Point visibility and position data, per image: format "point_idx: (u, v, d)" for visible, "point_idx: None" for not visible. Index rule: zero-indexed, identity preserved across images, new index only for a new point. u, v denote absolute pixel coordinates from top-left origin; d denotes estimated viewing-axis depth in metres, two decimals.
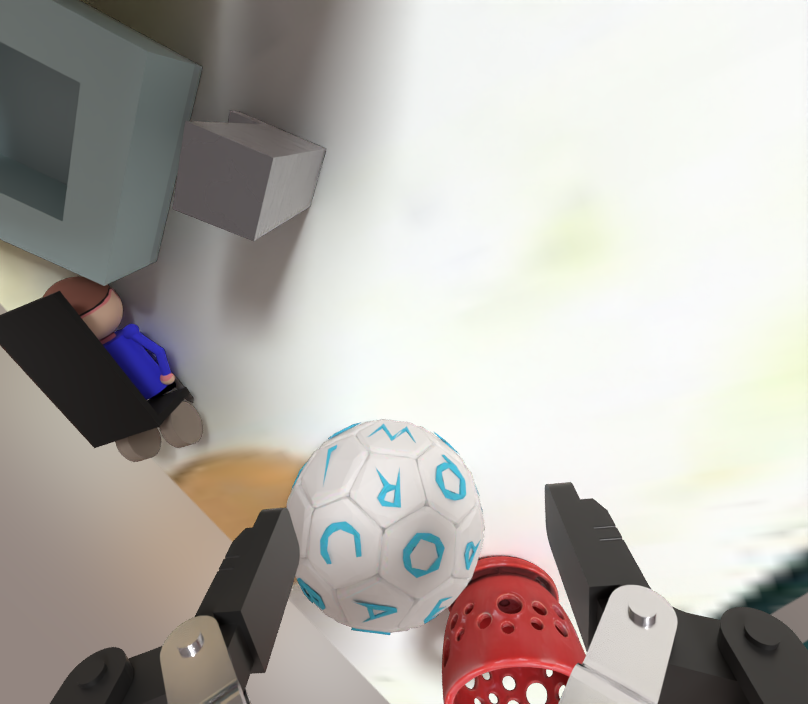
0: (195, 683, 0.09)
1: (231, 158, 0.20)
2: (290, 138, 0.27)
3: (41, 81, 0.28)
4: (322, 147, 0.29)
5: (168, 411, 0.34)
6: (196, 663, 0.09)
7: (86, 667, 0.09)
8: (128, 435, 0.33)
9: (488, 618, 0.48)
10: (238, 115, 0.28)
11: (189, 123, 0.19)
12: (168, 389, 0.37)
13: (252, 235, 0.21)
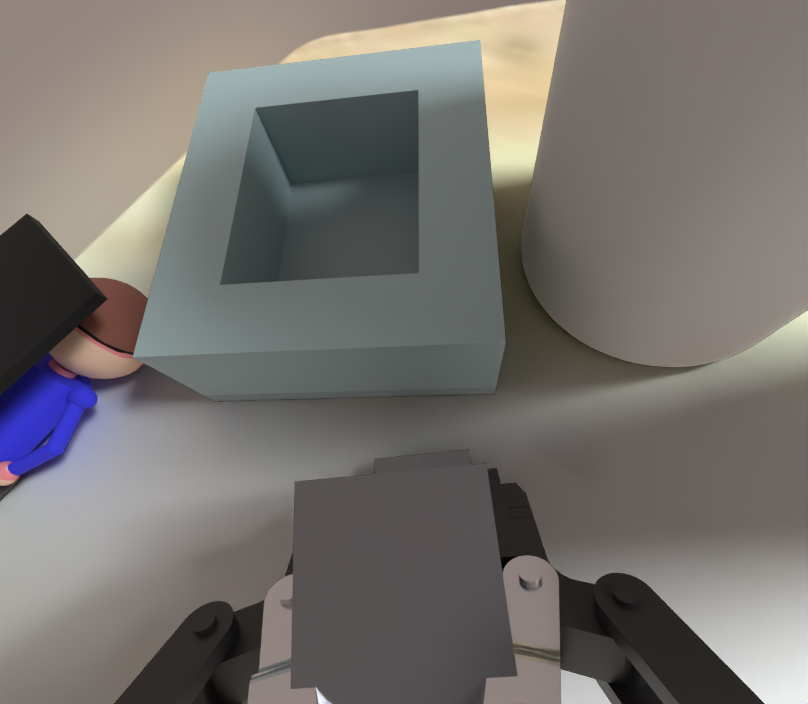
0: None
1: (463, 589, 0.08)
2: None
3: (385, 235, 0.24)
4: None
5: None
6: (290, 618, 0.10)
7: (202, 615, 0.10)
8: None
9: None
10: (468, 463, 0.18)
11: (485, 473, 0.09)
12: None
13: None
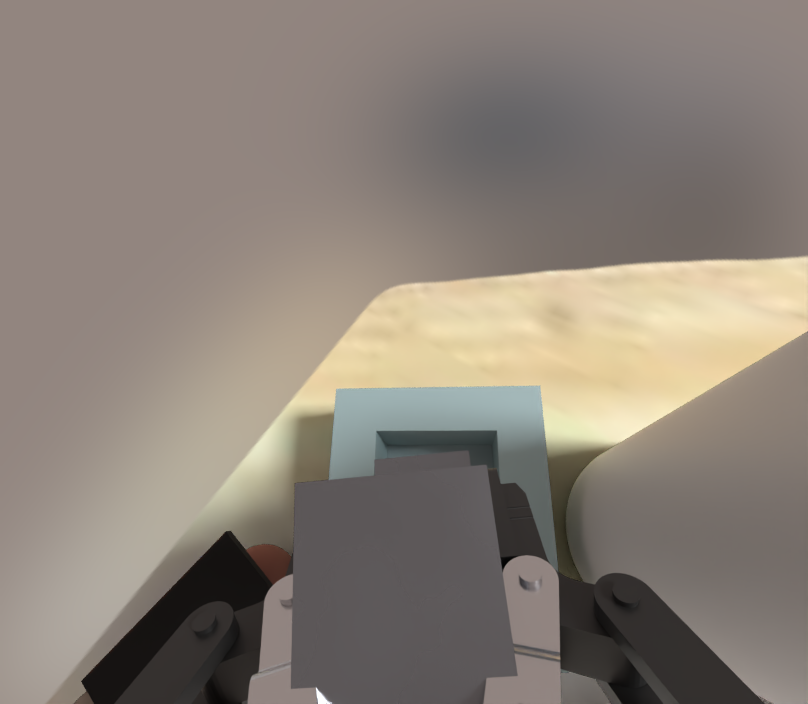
0: None
1: (463, 590, 0.08)
2: None
3: None
4: None
5: None
6: (290, 618, 0.10)
7: (202, 615, 0.10)
8: None
9: None
10: (468, 463, 0.18)
11: (486, 474, 0.09)
12: None
13: None
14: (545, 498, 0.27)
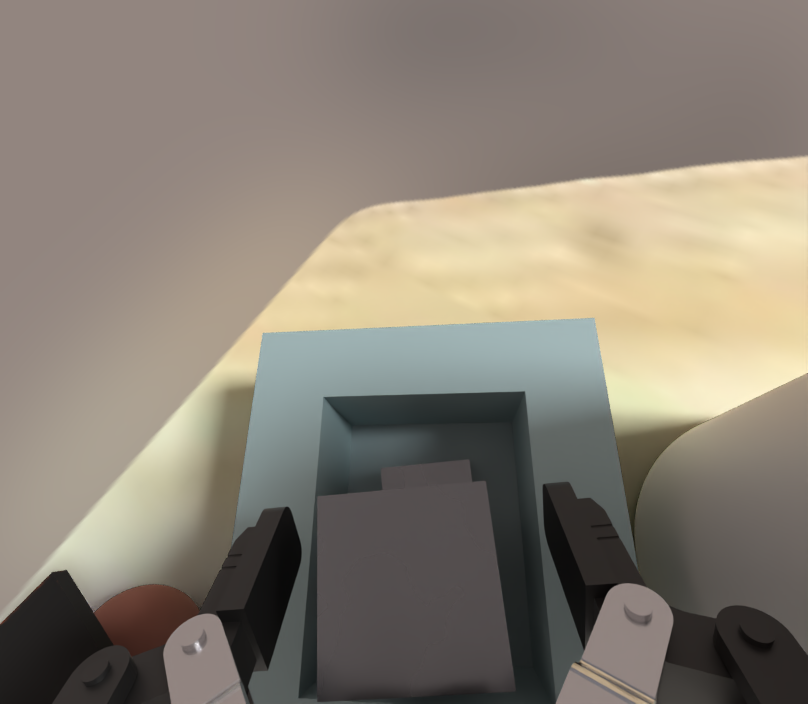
0: (199, 680, 0.09)
1: (466, 590, 0.09)
2: None
3: None
4: None
5: None
6: (199, 661, 0.09)
7: (91, 664, 0.09)
8: None
9: None
10: (469, 472, 0.19)
11: (485, 489, 0.10)
12: None
13: (328, 695, 0.09)
14: (616, 506, 0.15)
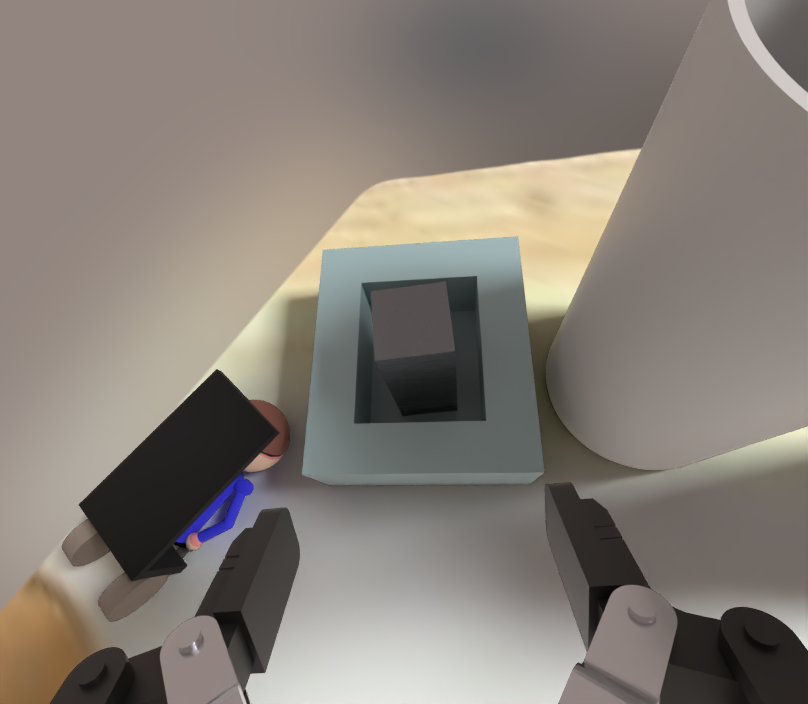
0: (195, 683, 0.09)
1: (436, 320, 0.22)
2: None
3: None
4: None
5: (153, 574, 0.26)
6: (196, 663, 0.09)
7: (87, 667, 0.09)
8: (108, 543, 0.26)
9: None
10: None
11: (445, 284, 0.23)
12: (177, 544, 0.30)
13: (379, 358, 0.22)
14: (523, 329, 0.28)
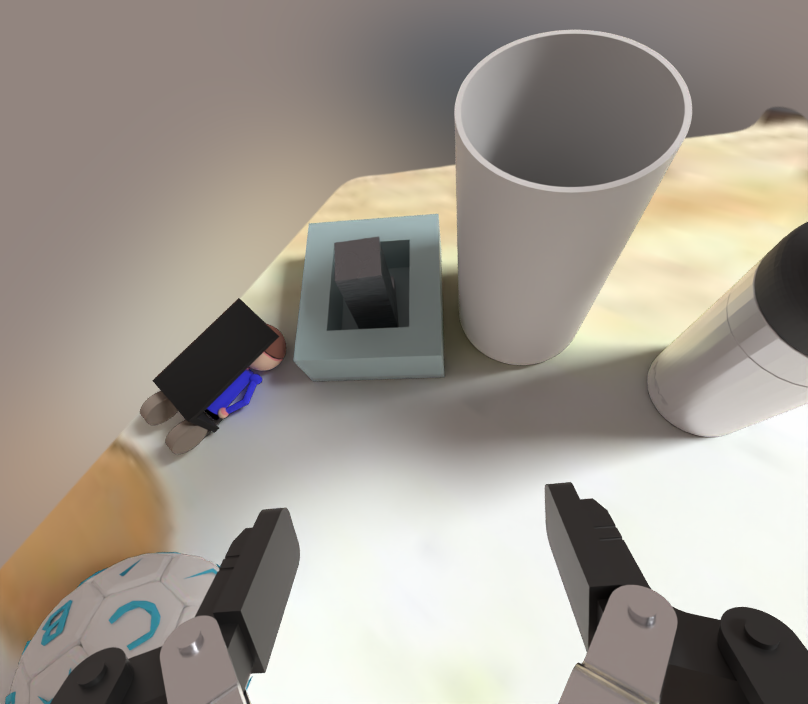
0: (195, 683, 0.09)
1: (371, 258, 0.38)
2: (394, 305, 0.46)
3: None
4: None
5: (199, 423, 0.42)
6: (196, 663, 0.09)
7: (86, 667, 0.09)
8: (172, 401, 0.41)
9: None
10: (393, 280, 0.48)
11: (378, 238, 0.39)
12: (212, 415, 0.46)
13: (337, 279, 0.37)
14: (436, 272, 0.43)
